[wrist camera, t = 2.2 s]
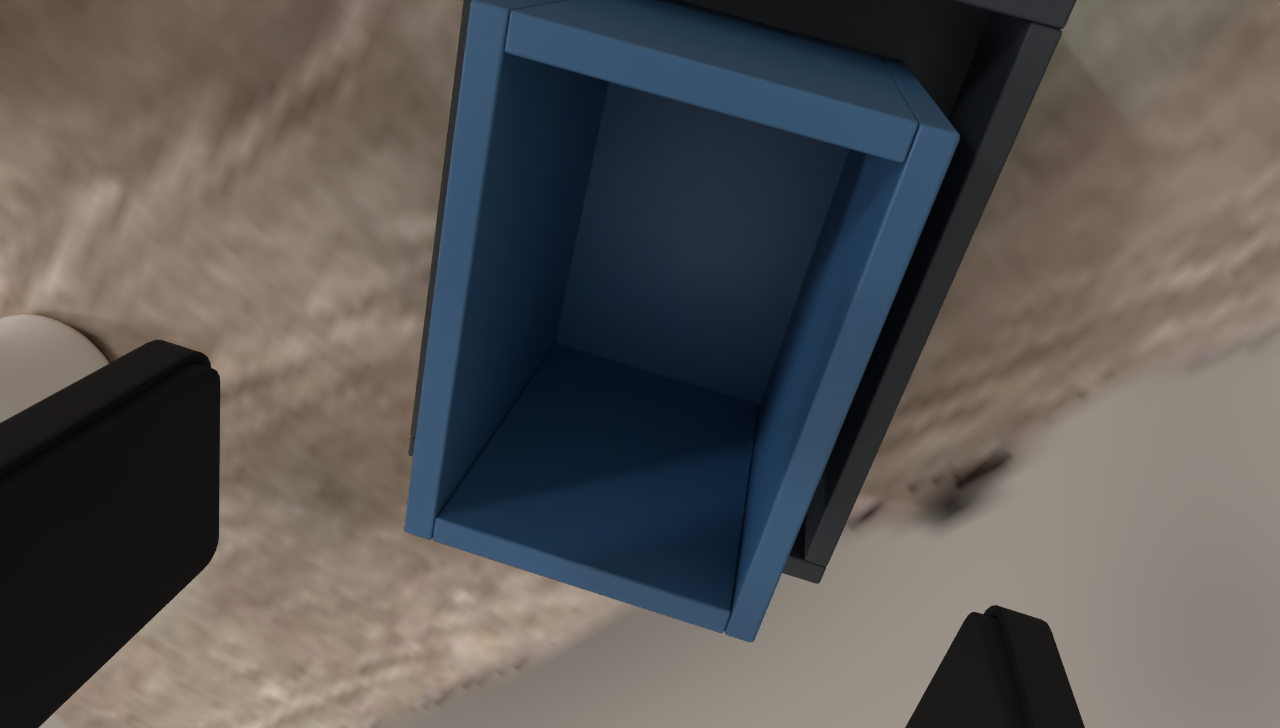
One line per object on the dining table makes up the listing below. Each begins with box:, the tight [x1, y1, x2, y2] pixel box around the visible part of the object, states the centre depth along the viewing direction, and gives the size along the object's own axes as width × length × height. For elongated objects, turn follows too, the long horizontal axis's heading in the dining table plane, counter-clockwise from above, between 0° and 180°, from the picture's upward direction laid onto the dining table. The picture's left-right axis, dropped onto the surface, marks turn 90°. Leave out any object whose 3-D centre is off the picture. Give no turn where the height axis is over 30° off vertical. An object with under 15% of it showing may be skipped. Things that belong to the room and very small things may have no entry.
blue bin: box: [404, 0, 960, 642], centre depth 18 cm, size 10×7×9 cm
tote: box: [408, 0, 1076, 584], centre depth 21 cm, size 14×11×5 cm
